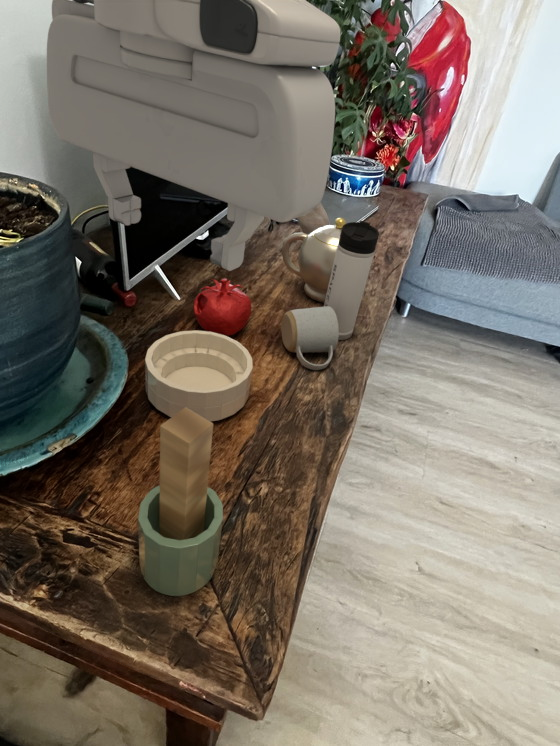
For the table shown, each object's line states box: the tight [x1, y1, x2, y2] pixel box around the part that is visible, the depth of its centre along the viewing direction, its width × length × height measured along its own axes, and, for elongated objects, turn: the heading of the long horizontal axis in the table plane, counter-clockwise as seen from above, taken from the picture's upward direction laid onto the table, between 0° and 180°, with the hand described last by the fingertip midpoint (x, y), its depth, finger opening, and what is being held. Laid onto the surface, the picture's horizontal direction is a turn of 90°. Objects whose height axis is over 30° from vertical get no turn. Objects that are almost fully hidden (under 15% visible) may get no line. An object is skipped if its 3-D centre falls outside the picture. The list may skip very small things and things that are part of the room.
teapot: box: [281, 217, 347, 304], centre depth 99 cm, size 18×14×16 cm
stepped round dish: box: [144, 329, 254, 422], centre depth 70 cm, size 15×15×6 cm
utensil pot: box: [137, 484, 224, 597], centre depth 48 cm, size 8×8×8 cm
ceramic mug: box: [280, 306, 339, 371], centre depth 82 cm, size 11×8×8 cm
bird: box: [296, 200, 331, 235], centre depth 117 cm, size 5×14×15 cm, turn 100°
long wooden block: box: [159, 407, 214, 540], centre depth 45 cm, size 3×3×18 cm
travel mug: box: [323, 220, 380, 341], centre depth 86 cm, size 6×7×20 cm
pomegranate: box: [193, 278, 252, 337], centre depth 85 cm, size 10×10×9 cm
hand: (173, 242), depth 35 cm, fingers open, 8 cm apart
